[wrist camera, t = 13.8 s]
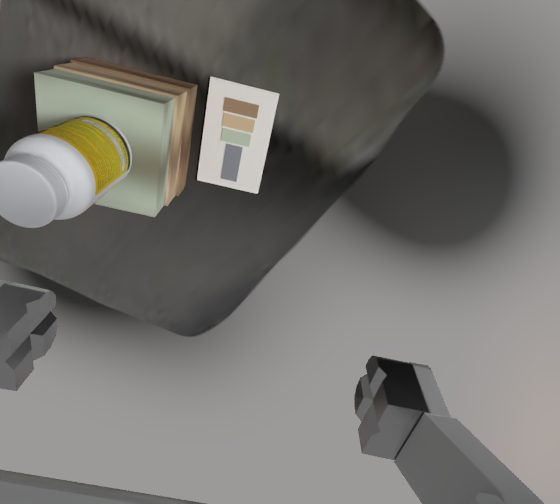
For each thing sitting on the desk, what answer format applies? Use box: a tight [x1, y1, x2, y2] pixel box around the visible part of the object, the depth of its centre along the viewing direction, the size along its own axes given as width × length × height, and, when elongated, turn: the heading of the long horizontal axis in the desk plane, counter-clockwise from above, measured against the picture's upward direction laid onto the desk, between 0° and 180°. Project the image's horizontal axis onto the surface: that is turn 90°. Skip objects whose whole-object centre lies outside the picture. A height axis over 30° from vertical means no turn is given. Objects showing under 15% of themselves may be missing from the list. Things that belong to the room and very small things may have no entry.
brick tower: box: [34, 57, 197, 217], centre depth 34 cm, size 10×10×9 cm
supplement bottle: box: [0, 115, 132, 228], centre depth 26 cm, size 5×5×10 cm
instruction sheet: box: [197, 76, 279, 194], centre depth 38 cm, size 10×6×1 cm, turn 167°
